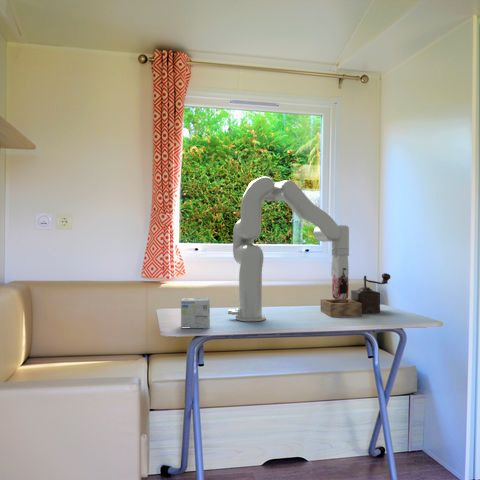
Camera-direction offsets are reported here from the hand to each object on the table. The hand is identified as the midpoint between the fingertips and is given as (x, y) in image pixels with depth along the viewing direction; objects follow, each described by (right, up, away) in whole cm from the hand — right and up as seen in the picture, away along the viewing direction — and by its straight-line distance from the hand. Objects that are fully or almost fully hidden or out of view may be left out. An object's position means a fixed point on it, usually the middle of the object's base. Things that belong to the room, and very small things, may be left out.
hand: (340, 292), depth 187 cm
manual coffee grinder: (+16, -10, +6) cm, 19 cm away
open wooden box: (0, -10, 0) cm, 10 cm away
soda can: (0, -3, 0) cm, 3 cm away
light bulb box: (-62, -10, -28) cm, 69 cm away
